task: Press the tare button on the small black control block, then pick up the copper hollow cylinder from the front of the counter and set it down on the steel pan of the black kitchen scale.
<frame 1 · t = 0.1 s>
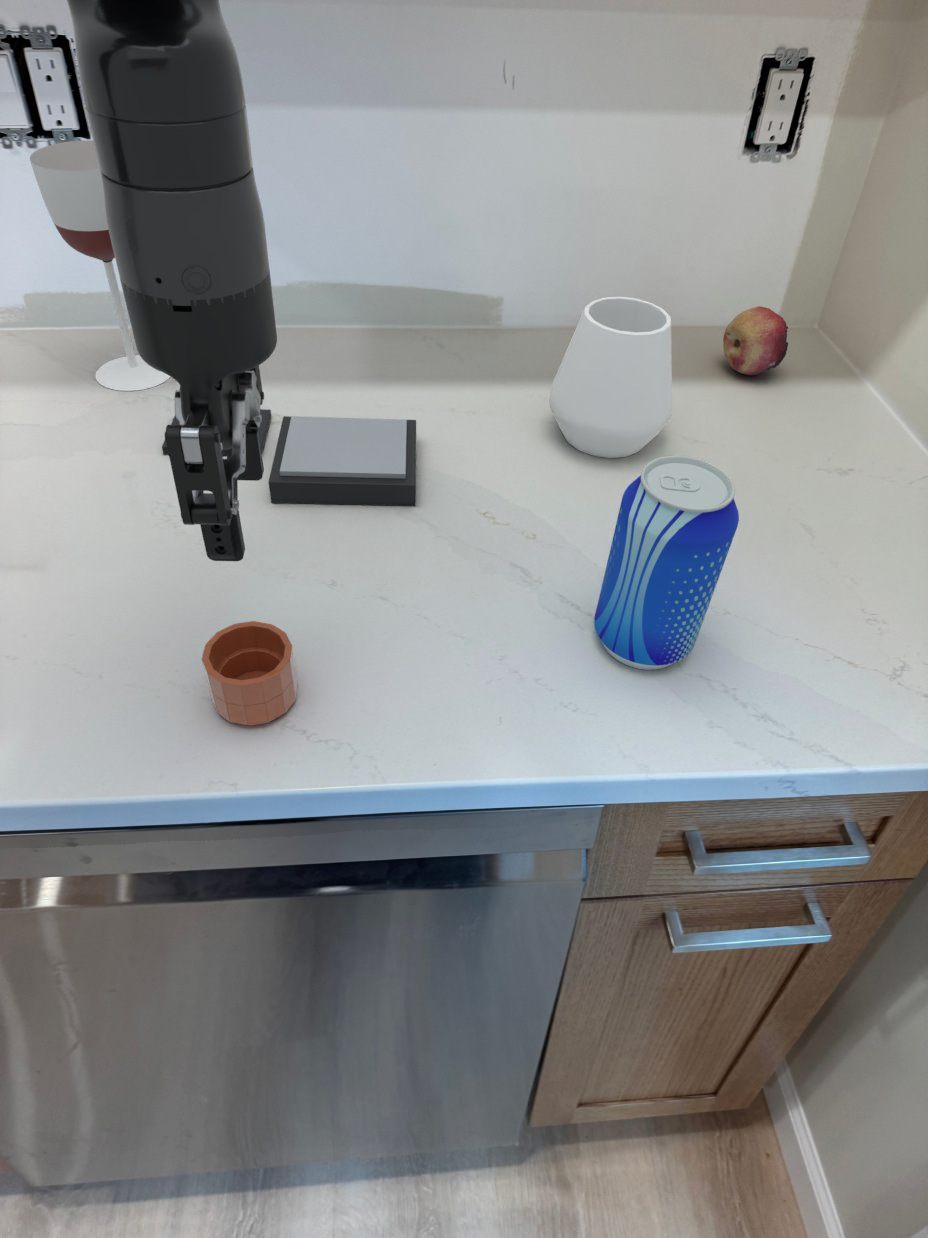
hand: (238, 515, 54), 15 cm above the counter, tool pointing down, fingers open, 8 cm apart
copper hollow cylinder: (255, 697, 62), on the counter
wineglass: (135, 373, 96), on the counter
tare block: (219, 434, 88), on the counter
beer can: (640, 641, 69), on the counter
tare button: (215, 410, 86), point 3 cm above the counter, slide at 0.1 cm
fruit: (745, 373, 105), on the counter
cup: (603, 436, 92), on the counter
scale: (347, 469, 84), on the counter
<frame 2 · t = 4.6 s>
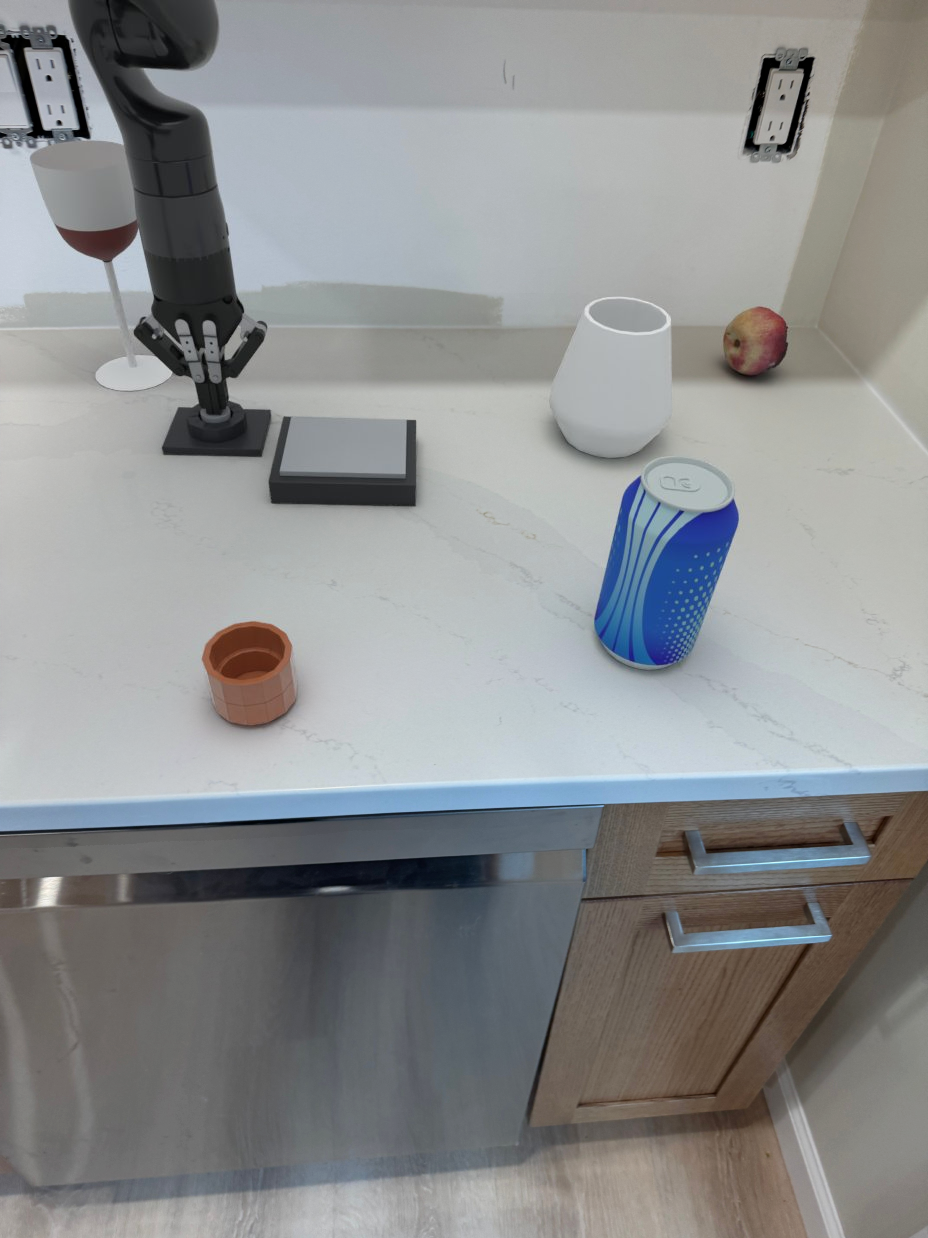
hand: (216, 410, 86), 3 cm above the counter, tool pointing down, fingers closed
tare button: (216, 417, 86), point 2 cm above the counter, slide at -0.7 cm, touching gripper
everything else where it was.
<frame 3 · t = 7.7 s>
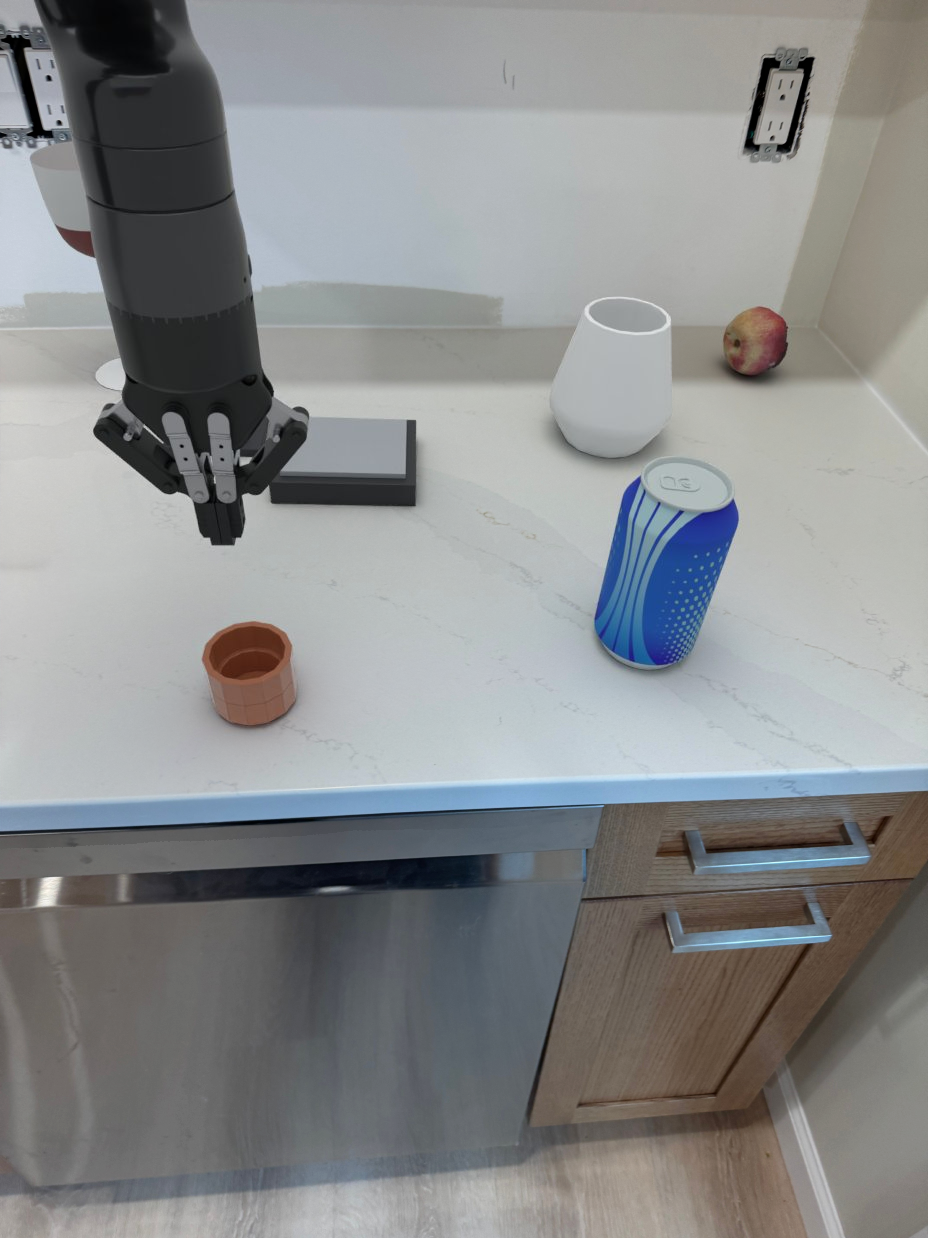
hand: (225, 537, 55), 13 cm above the counter, tool pointing down, fingers closed
tare button: (215, 410, 86), point 3 cm above the counter, slide at 0.1 cm
everything else where it was.
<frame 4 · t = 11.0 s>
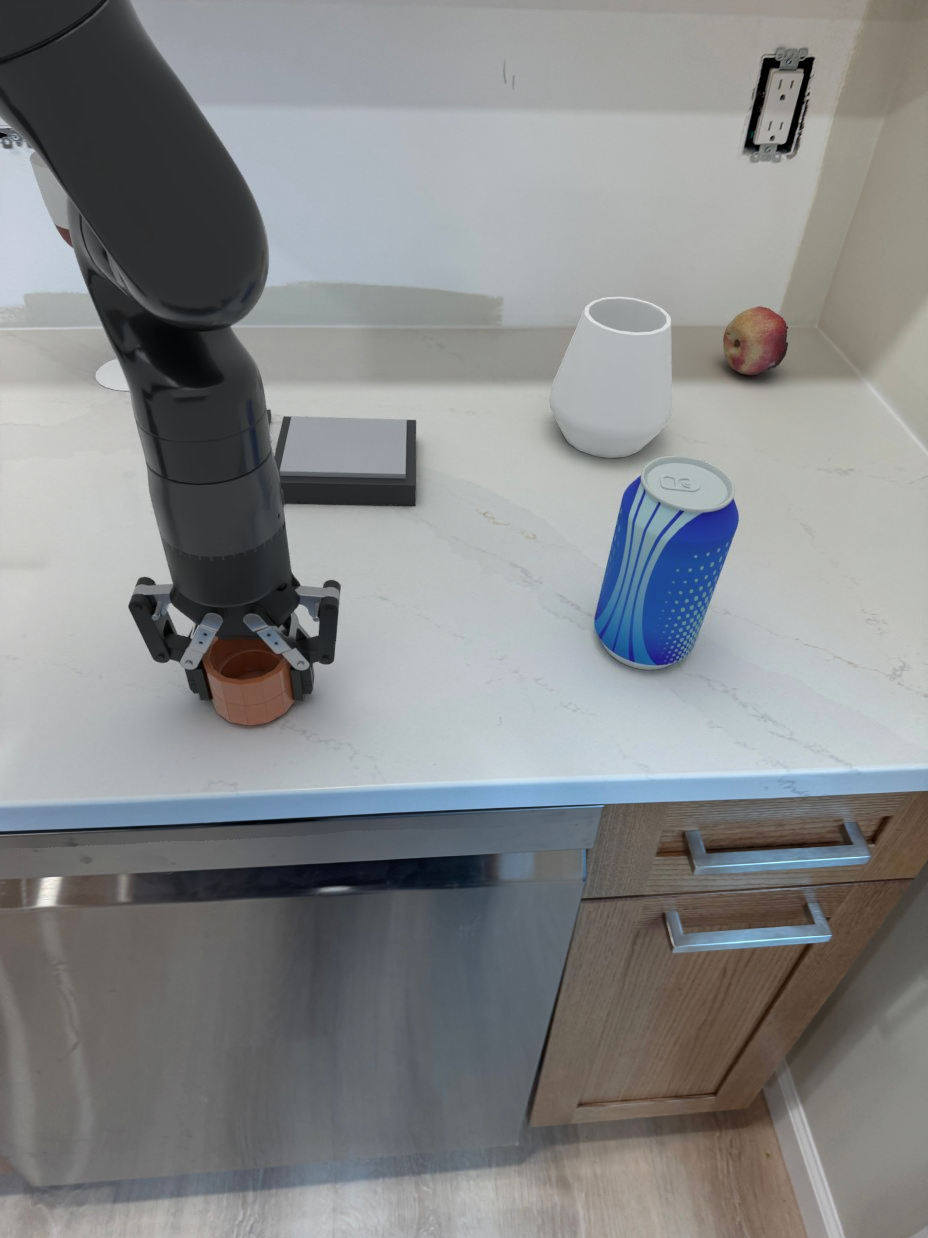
hand: (255, 691, 62), 1 cm above the counter, tool pointing down, fingers closed on copper hollow cylinder, 6 cm apart
copper hollow cylinder: (255, 697, 62), on the counter, touching gripper
everything else where it was.
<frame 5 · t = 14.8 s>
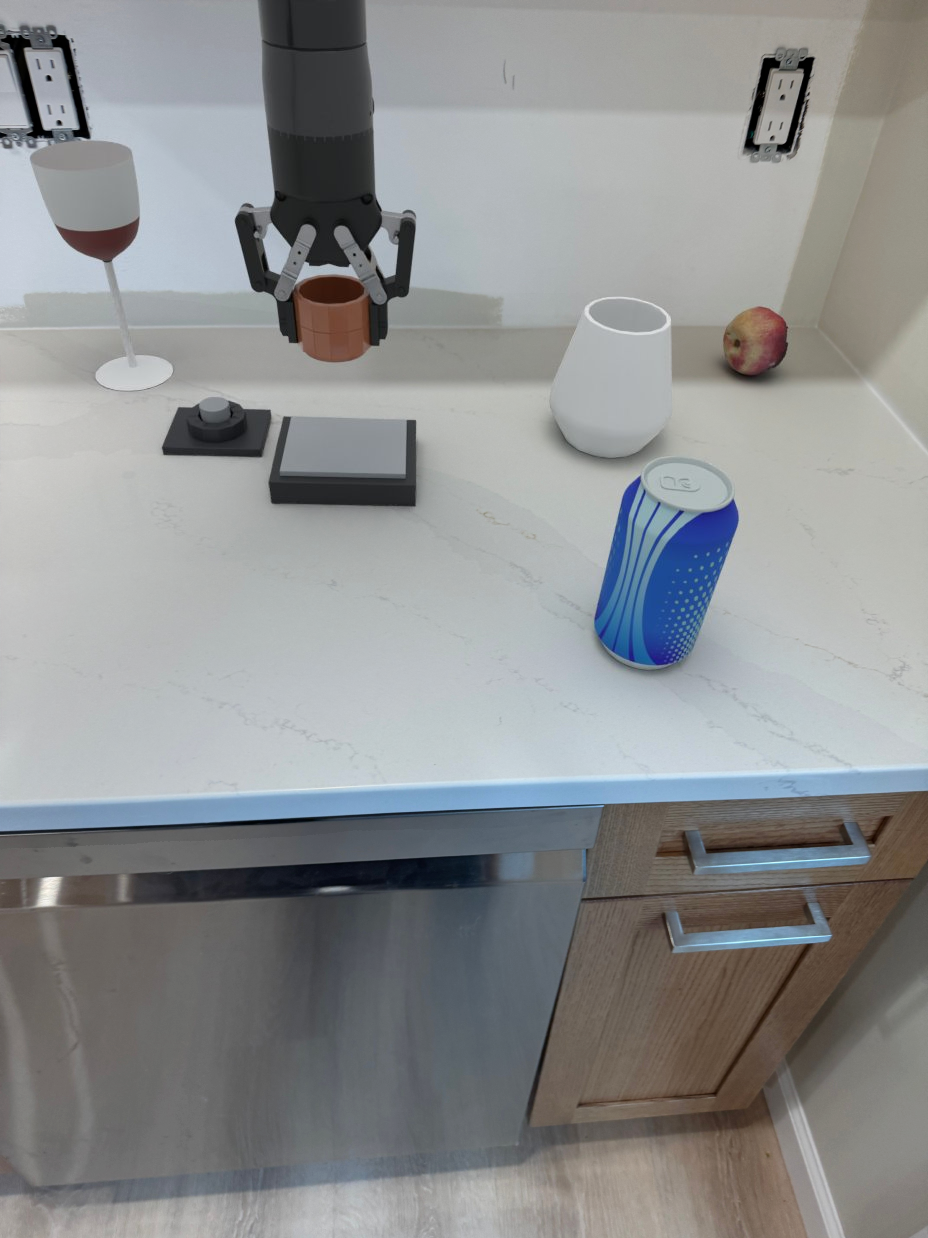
hand: (335, 339, 70), 16 cm above the counter, tool pointing down, fingers closed on copper hollow cylinder, 6 cm apart
copper hollow cylinder: (335, 347, 70), point 16 cm above the counter, touching gripper
everything else where it was.
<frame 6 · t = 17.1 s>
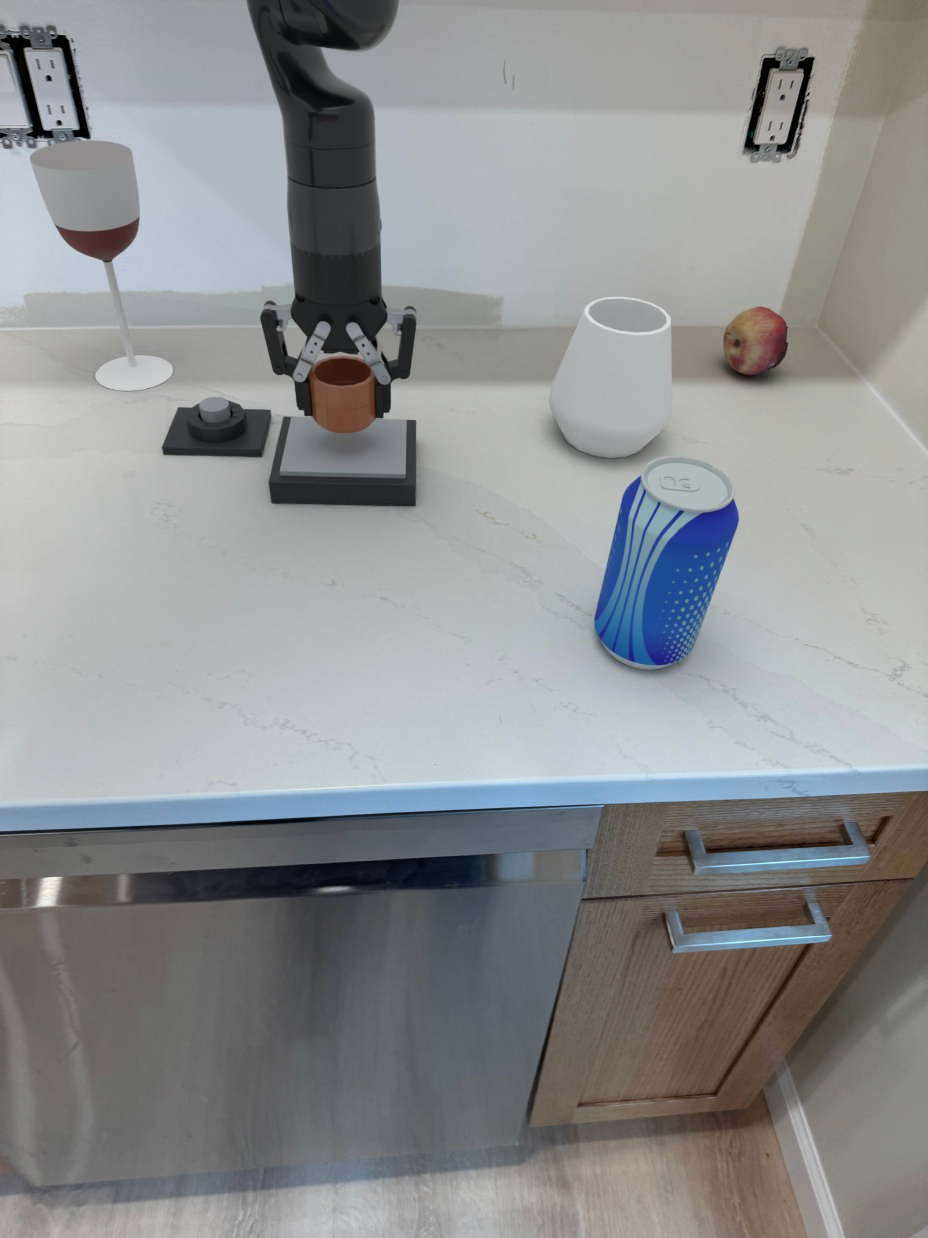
hand: (345, 412, 80), 7 cm above the counter, tool pointing down, fingers closed on copper hollow cylinder, 6 cm apart
copper hollow cylinder: (345, 418, 80), point 6 cm above the counter, touching gripper
everything else where it was.
when the fingers open (4 cm above the counter, at t = 18.6 s): copper hollow cylinder stays where it is, resting on scale.
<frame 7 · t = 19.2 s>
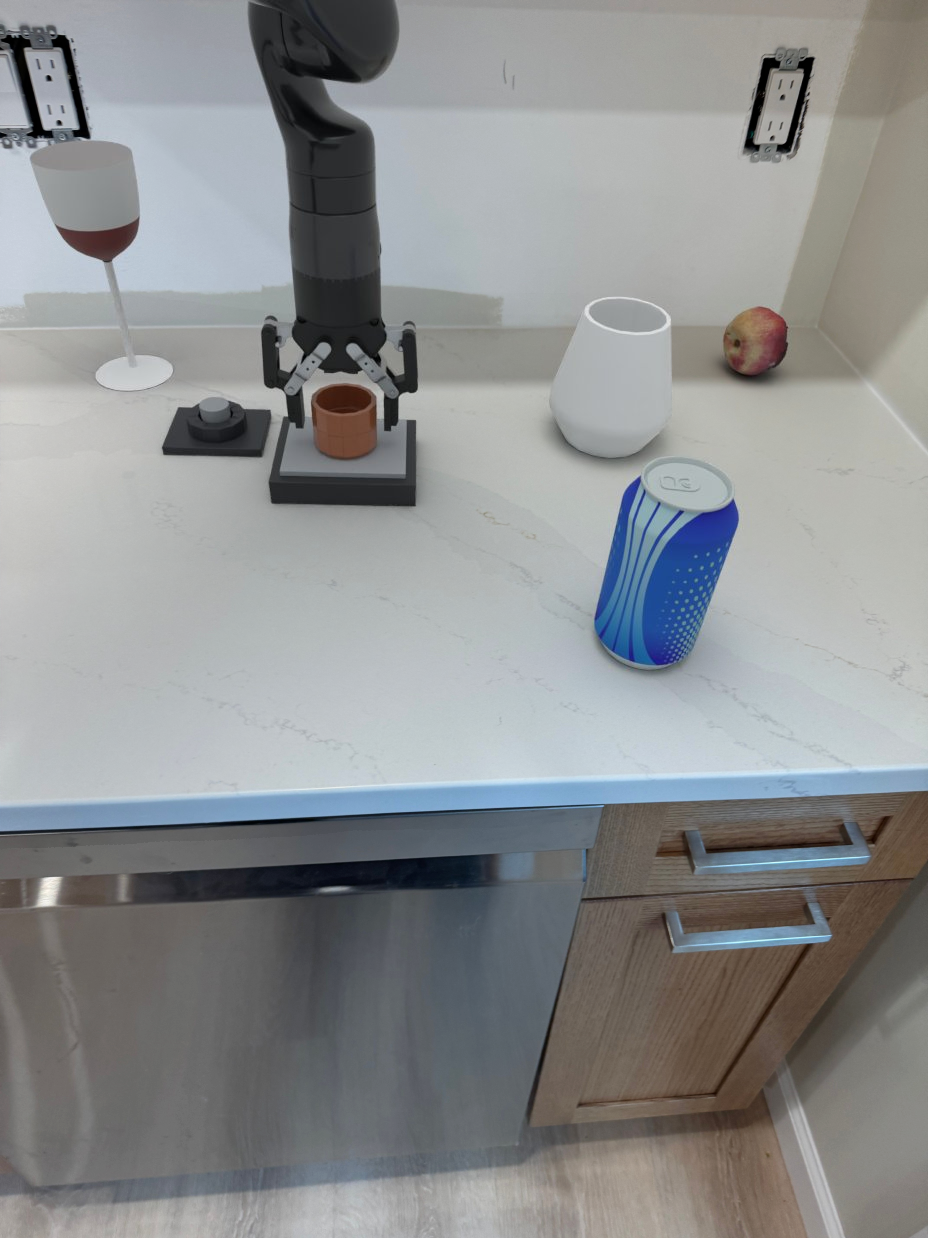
hand: (344, 425, 81), 5 cm above the counter, tool pointing down, fingers open, 8 cm apart
copper hollow cylinder: (346, 443, 82), point 3 cm above the counter, touching scale
everything else where it was.
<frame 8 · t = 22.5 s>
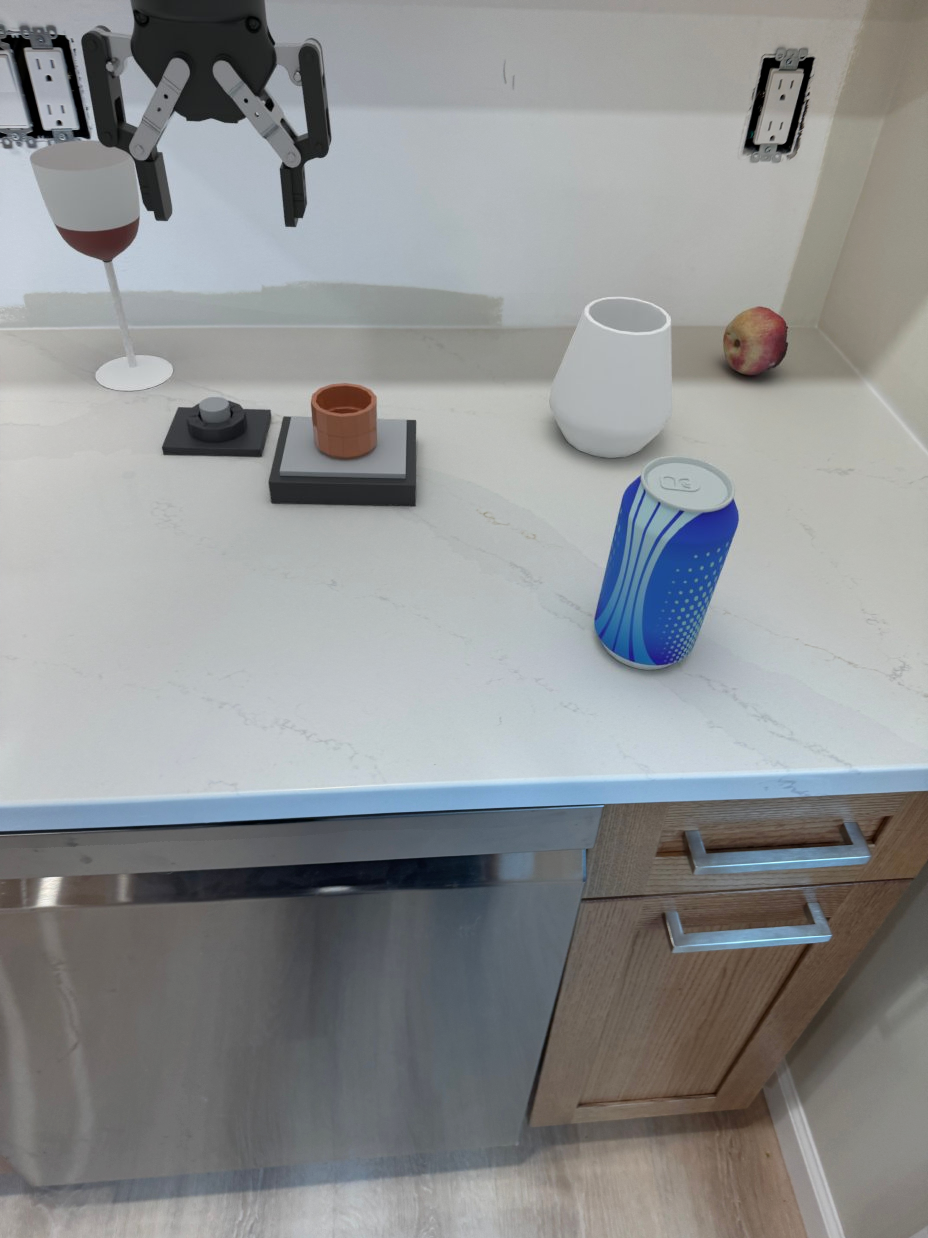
hand: (229, 220, 56), 28 cm above the counter, tool pointing down, fingers open, 8 cm apart
nothing on the counter moved.
at the end: tare button pushed in 0.9 cm at the most during the clip, back to where it started at the end; copper hollow cylinder inside the target area on the scale (0.0 cm from its centre), point 3.1 cm above the scale's base; copper hollow cylinder tilted 0° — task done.
